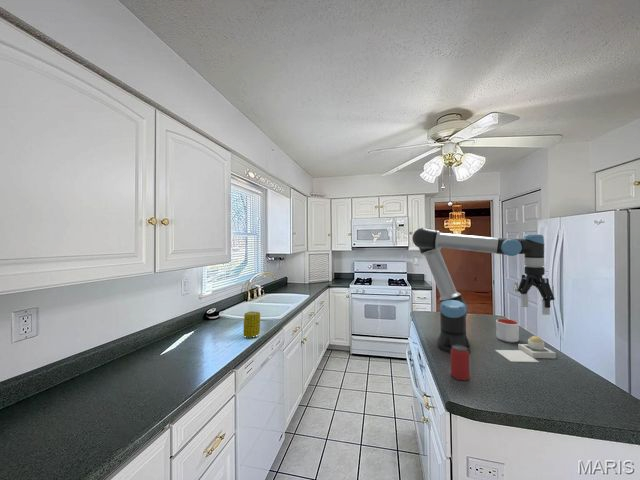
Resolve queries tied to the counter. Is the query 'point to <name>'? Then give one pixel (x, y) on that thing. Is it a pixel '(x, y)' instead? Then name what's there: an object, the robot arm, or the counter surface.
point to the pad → (516, 356)
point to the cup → (507, 330)
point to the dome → (536, 343)
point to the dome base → (536, 352)
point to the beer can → (460, 362)
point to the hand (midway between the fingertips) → (534, 310)
